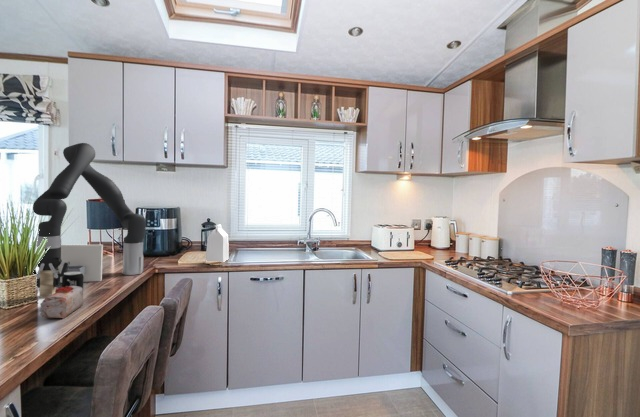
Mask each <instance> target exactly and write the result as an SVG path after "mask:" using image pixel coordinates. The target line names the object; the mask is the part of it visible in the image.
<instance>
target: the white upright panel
mask: <svg viewBox="0 0 640 417" xmlns="http://www.w3.org/2000/svg"><path fill="white" fill-rule="evenodd" d="M103 251H104V244H61V260H62V261H63V262H70V264H69V267H68V270H67V272H71V271H82V274H83V275H84V281H83V283H85V282H88V283H91V282H101V281H103V257H104V256H103V254H104V252H103ZM58 268H59V270H60V271H59V272H60V274H61V271H62V268H63V267H62V264H60V265H59V266H58ZM62 277H63V276H62ZM62 277H60V284H62Z"/></svg>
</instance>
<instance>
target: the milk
mask: <svg viewBox="0 0 640 417" xmlns="http://www.w3.org/2000/svg"><path fill="white" fill-rule="evenodd" d="M229 240H230V239H229V234H228V233H227V232H226V230H224V229H223V227H222V224H216V225H215V229H213V230H212V231H211V233H210V234H209V235H207V243H206V252H205V261H206V260H207V261H220V262H225V261H226V260H228V259H229V258H230V255H229V254H230V251H229V250H230V247H229V245H230V244H229ZM229 260H230V259H229Z"/></svg>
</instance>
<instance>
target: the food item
mask: <svg viewBox="0 0 640 417" xmlns="http://www.w3.org/2000/svg"><path fill="white" fill-rule="evenodd" d="M55 292H56V293H54V294H52V295H51V294H50V295H49V296H47V297H44V299H43V300H42V302H41V303H40V308H39V309H40V316H41V317H42V318H45V319H50V318H64V317H65V318H66V317H67V316H69V315H70V314H72V313H73V312H74V311H76V310H78V309H79V308H81V307H82V306H84V287H83V288H81V287H79V286H65V287H62V286H61V287H59V286H57V287H56V290H55ZM65 318H64V319H65Z"/></svg>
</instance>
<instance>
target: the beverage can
mask: <svg viewBox="0 0 640 417" xmlns="http://www.w3.org/2000/svg"><path fill="white" fill-rule="evenodd" d="M83 281H84V275H83V274H82V271H71V272H66V273H64V276H63V277H62V283H61V288H62V287H65V286H79V287H81V288H83V289H84V282H83Z"/></svg>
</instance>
